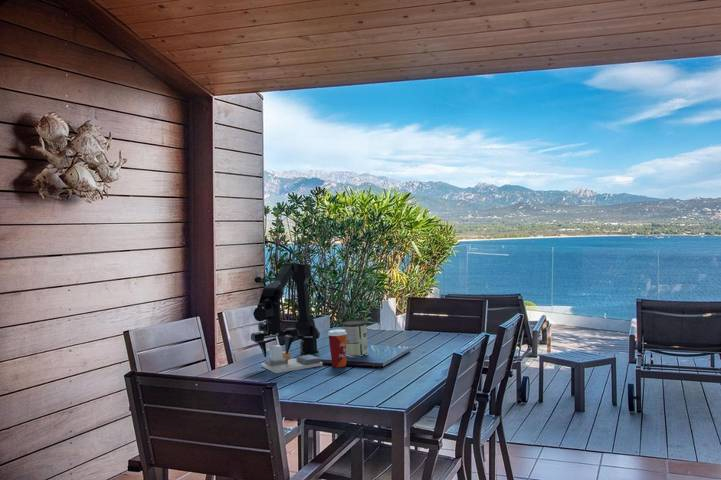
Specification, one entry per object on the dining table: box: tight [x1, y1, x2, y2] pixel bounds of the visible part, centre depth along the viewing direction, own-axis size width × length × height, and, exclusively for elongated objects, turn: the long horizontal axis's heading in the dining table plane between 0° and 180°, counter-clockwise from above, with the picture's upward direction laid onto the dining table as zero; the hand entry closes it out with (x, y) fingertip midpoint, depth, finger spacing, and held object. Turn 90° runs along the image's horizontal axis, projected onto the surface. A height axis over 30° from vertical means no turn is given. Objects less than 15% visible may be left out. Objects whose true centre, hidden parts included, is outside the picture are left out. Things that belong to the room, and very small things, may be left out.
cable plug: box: [282, 350, 291, 360], centre depth 287 cm, size 4×12×4 cm, turn 28°
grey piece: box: [296, 354, 321, 365], centre depth 273 cm, size 6×10×2 cm, turn 28°
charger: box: [268, 344, 283, 362], centre depth 274 cm, size 4×4×7 cm
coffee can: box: [341, 319, 369, 356], centre depth 288 cm, size 10×10×14 cm
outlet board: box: [261, 357, 324, 374], centre depth 273 cm, size 20×16×3 cm
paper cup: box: [327, 328, 347, 368], centre depth 269 cm, size 8×8×14 cm
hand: (276, 355), depth 274 cm, fingers open, 9 cm apart
